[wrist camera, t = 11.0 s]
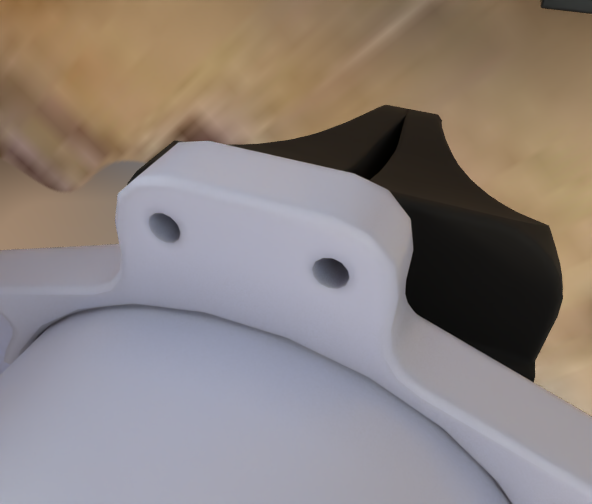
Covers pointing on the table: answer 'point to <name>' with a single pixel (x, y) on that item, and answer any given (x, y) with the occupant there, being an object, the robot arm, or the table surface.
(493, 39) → the table surface
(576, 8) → the black button base
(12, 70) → the table surface
